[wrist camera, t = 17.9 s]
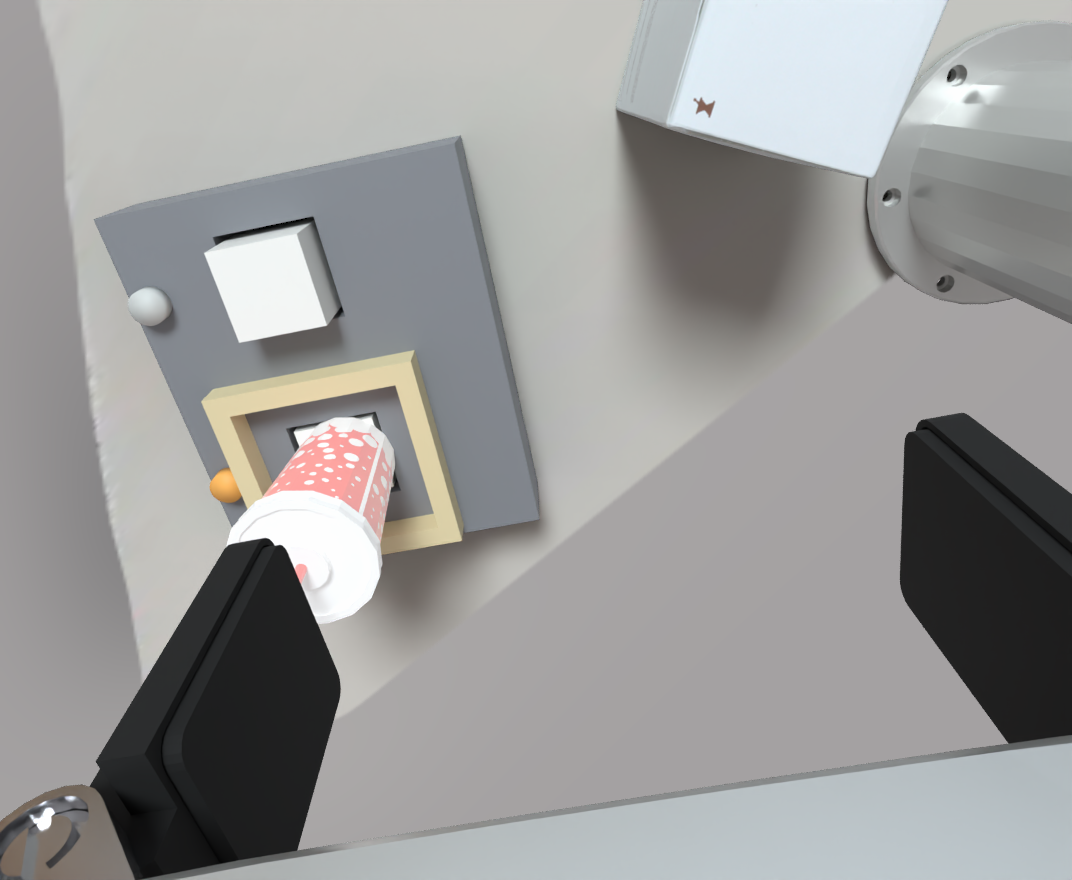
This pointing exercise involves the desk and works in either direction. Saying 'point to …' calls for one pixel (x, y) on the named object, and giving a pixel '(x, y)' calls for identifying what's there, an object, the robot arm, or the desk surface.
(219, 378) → the gray panel board
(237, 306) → the block
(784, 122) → the supplement box
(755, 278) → the desk surface
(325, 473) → the beverage cup
